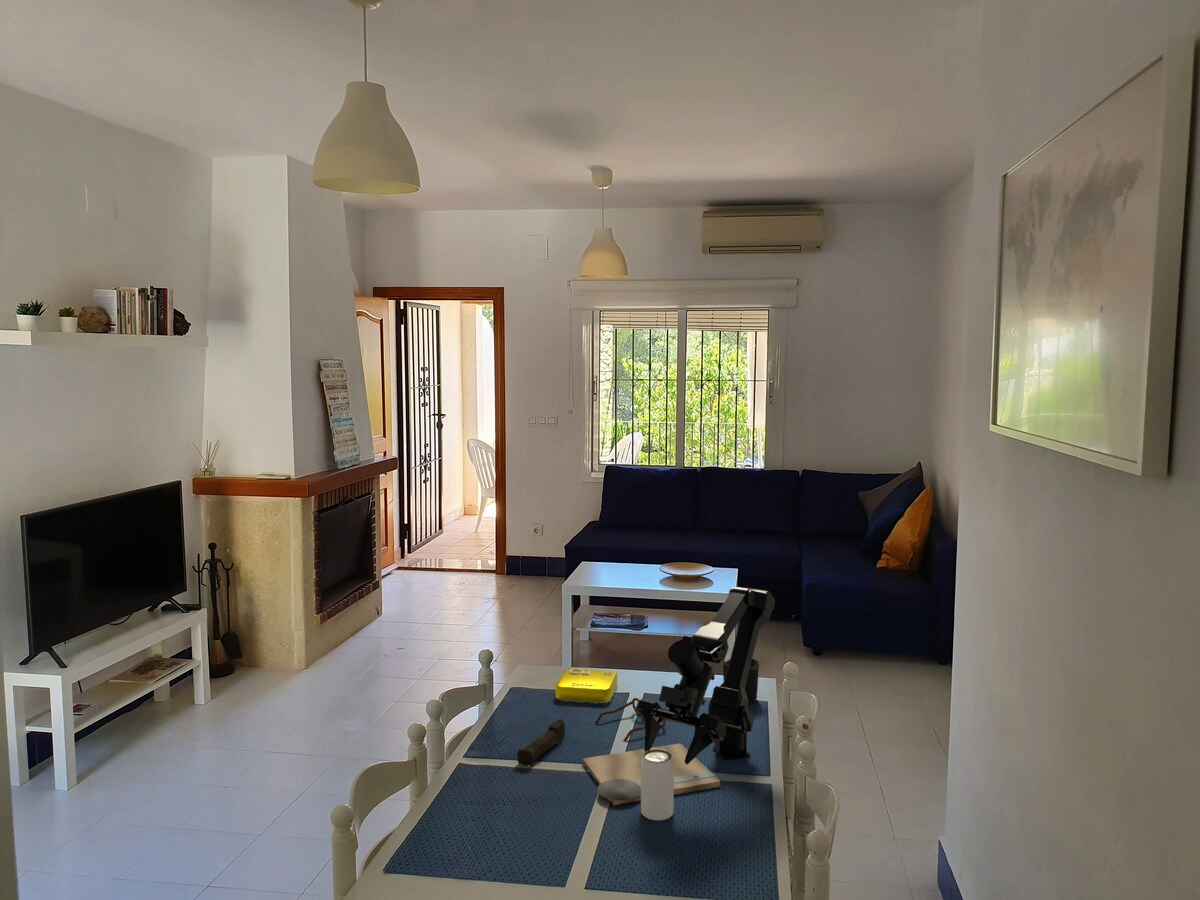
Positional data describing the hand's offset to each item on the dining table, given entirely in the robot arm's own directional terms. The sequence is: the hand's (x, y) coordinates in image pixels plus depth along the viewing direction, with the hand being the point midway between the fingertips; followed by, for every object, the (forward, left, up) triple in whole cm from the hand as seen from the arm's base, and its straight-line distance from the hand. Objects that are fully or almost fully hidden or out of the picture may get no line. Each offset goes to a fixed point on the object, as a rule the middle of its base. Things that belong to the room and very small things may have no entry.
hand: (665, 757), depth 177 cm
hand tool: (+16, -34, -11) cm, 39 cm away
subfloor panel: (-1, -14, -10) cm, 17 cm away
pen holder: (-42, -47, -10) cm, 64 cm away
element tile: (-5, -65, -11) cm, 66 cm away
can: (+3, +2, -10) cm, 11 cm away
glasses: (-8, -40, -11) cm, 42 cm away
